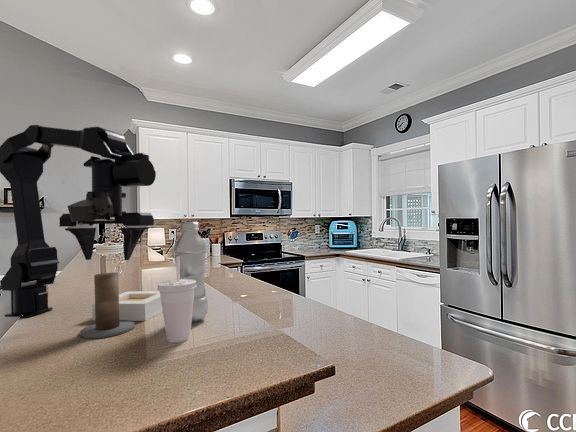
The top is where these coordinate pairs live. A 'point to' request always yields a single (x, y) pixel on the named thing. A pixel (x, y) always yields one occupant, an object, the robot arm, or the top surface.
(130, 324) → the slate mat
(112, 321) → the brown cylindrical post
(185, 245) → the plastic bottle
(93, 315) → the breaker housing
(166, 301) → the smoothie
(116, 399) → the top surface
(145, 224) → the robot arm
